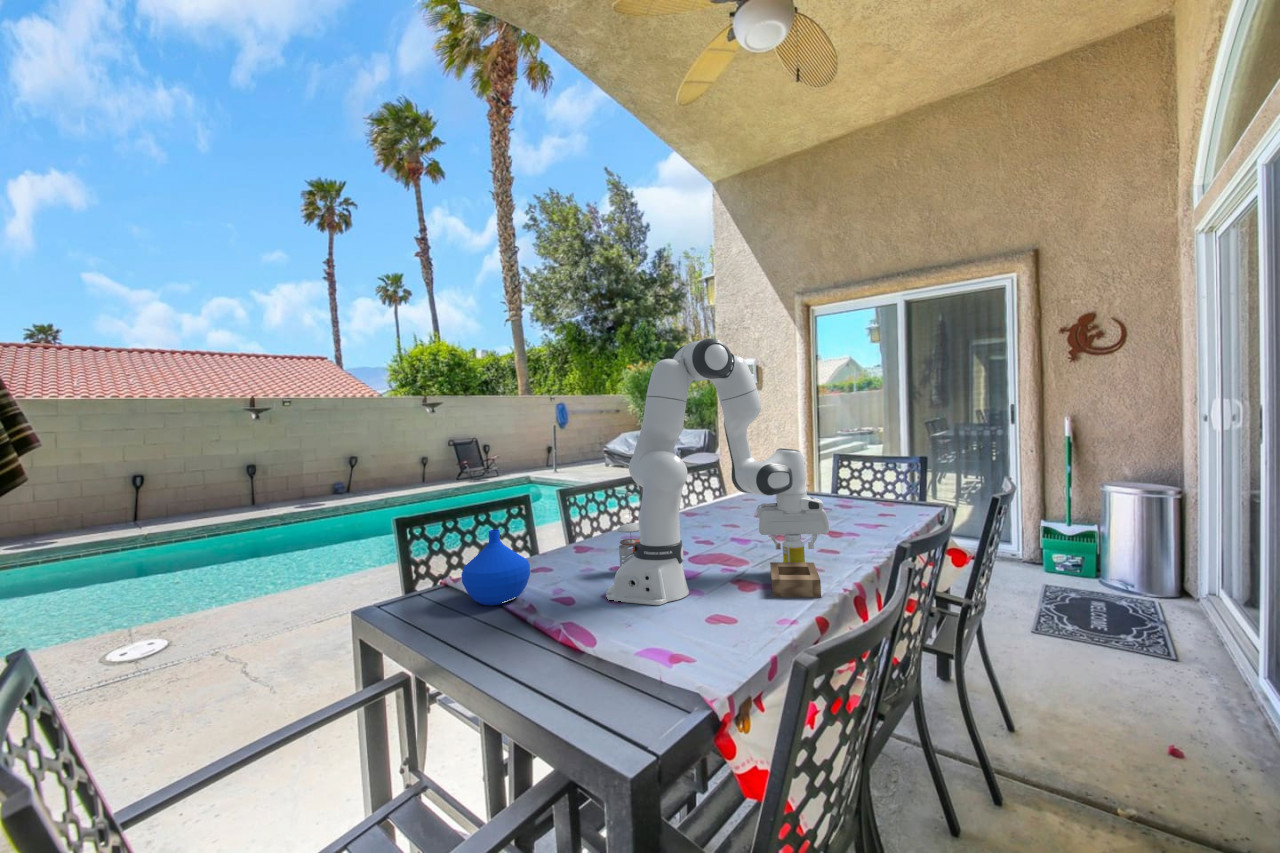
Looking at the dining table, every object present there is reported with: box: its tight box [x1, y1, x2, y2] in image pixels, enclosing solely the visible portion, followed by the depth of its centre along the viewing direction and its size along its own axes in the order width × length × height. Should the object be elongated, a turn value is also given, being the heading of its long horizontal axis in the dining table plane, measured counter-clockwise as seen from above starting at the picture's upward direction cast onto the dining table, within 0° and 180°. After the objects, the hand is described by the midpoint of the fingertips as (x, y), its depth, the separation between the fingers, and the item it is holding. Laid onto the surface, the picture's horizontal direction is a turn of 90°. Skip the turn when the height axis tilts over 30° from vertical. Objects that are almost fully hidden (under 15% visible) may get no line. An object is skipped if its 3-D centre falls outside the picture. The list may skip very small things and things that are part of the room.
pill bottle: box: [782, 534, 806, 563], centre depth 162 cm, size 6×6×11 cm
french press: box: [616, 491, 640, 568], centre depth 170 cm, size 10×12×25 cm
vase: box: [461, 529, 531, 606], centre depth 151 cm, size 18×18×19 cm
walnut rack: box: [769, 561, 822, 598], centre depth 148 cm, size 12×16×4 cm
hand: (794, 548), depth 162 cm, fingers open, 8 cm apart
